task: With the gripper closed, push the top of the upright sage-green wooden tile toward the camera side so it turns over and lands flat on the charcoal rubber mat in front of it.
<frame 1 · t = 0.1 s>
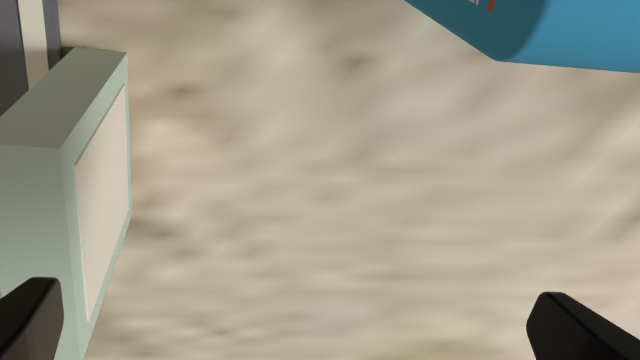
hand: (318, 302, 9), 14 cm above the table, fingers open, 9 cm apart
tile: (105, 139, 22), on the table
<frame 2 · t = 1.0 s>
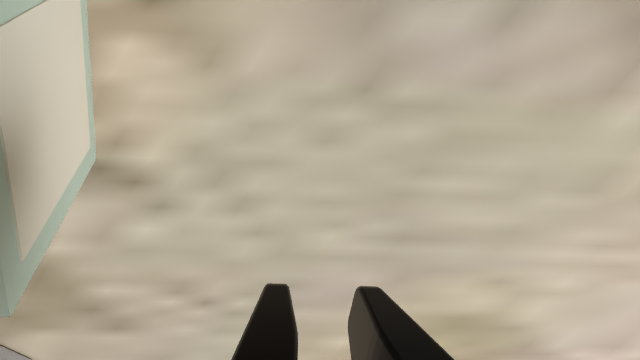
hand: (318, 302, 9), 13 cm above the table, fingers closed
tile: (61, 59, 19), on the table
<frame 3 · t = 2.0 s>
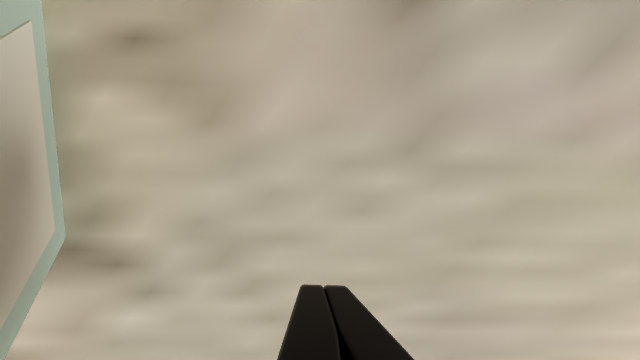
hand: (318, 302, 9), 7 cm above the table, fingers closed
tile: (14, 118, 14), on the table
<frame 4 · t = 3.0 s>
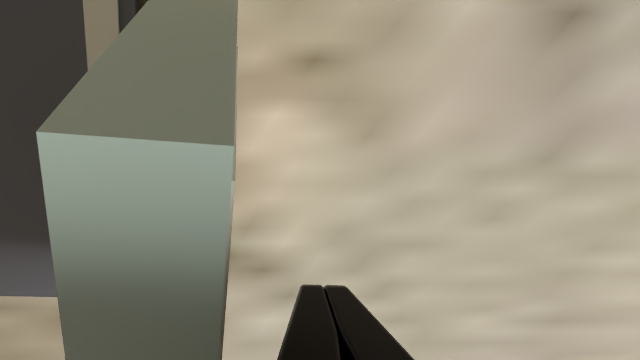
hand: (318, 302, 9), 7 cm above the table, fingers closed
tile: (194, 134, 15), on the table
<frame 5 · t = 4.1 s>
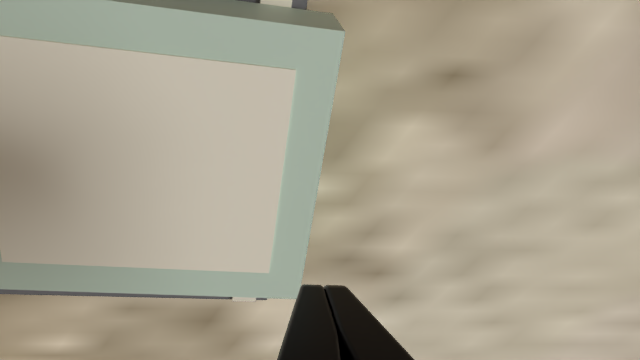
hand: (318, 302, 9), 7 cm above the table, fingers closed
mat: (112, 126, 14), on the table
tile: (314, 166, 14), point 2 cm above the table, tilted 91°, touching mat
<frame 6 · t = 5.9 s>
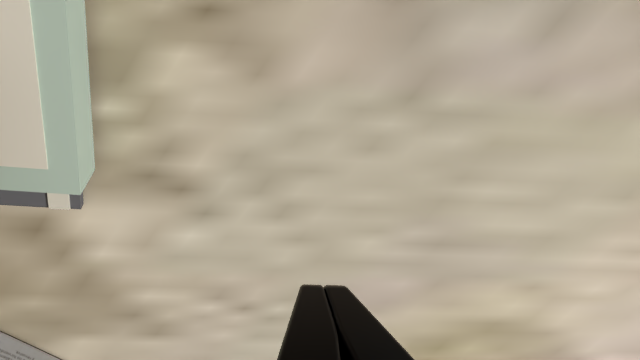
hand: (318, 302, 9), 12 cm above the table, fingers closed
tile: (81, 80, 17), point 2 cm above the table, tilted 91°, touching mat
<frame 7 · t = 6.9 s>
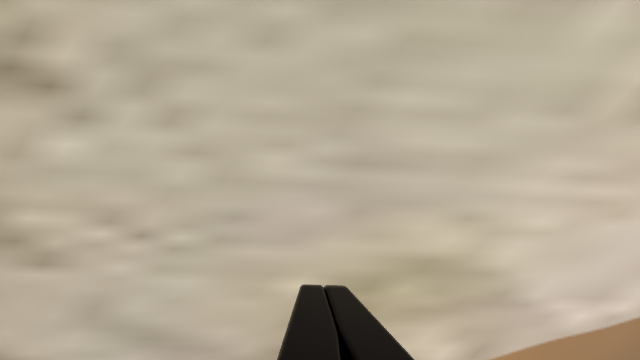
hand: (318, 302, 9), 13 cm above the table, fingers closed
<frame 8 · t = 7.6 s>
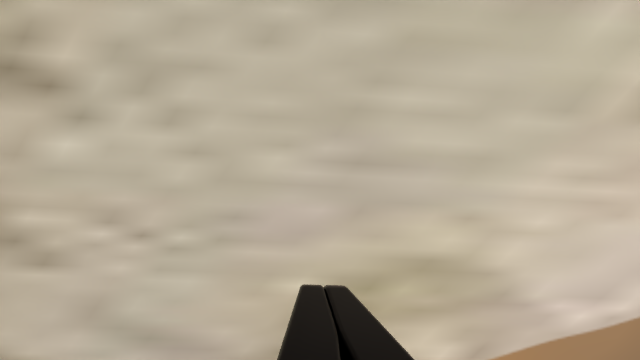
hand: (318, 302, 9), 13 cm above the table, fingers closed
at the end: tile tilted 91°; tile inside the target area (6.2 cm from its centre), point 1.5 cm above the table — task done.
